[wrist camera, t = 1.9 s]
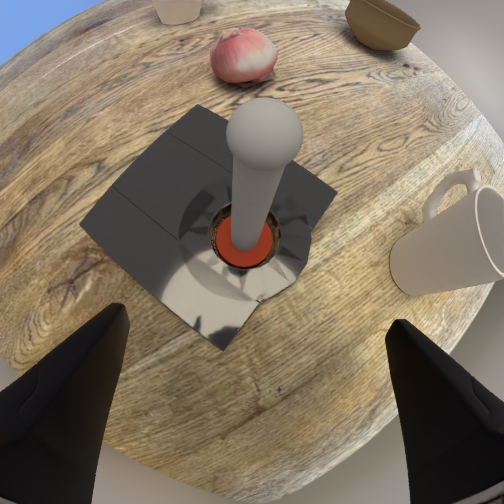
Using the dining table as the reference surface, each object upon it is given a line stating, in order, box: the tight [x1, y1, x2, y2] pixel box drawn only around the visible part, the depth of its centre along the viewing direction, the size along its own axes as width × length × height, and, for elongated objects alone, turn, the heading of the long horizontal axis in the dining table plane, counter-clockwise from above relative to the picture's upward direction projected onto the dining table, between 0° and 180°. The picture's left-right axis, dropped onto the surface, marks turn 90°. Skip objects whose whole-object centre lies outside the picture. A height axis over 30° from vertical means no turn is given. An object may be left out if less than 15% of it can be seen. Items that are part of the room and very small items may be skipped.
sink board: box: [79, 104, 338, 351], centre depth 22 cm, size 16×17×2 cm
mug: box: [390, 168, 504, 296], centre depth 19 cm, size 10×7×12 cm, turn 173°
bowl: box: [345, 0, 421, 51], centre depth 30 cm, size 13×13×10 cm
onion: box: [210, 28, 278, 88], centre depth 25 cm, size 8×8×7 cm
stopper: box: [216, 97, 303, 269], centre depth 16 cm, size 5×5×16 cm
